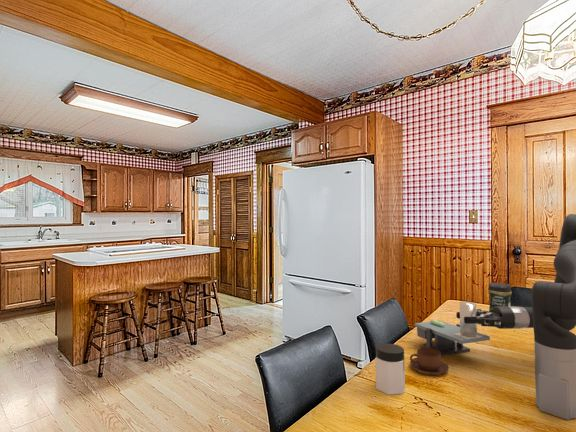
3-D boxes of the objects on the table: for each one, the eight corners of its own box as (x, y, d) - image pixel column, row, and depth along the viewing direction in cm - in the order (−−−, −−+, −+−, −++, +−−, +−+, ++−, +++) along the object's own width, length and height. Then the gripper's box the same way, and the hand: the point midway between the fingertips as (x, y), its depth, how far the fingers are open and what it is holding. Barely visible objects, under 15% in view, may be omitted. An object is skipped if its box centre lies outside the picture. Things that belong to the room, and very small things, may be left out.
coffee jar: (486, 320, 167) (485, 282, 167) (492, 317, 172) (491, 280, 173) (509, 325, 160) (508, 285, 160) (514, 321, 165) (513, 283, 166)
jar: (399, 380, 107) (398, 342, 107) (411, 393, 99) (410, 352, 99) (371, 382, 106) (370, 343, 106) (381, 395, 98) (380, 354, 98)
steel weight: (473, 338, 116) (472, 306, 116) (457, 334, 120) (457, 303, 120) (479, 334, 120) (478, 303, 120) (463, 331, 124) (463, 300, 124)
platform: (415, 336, 139) (414, 319, 139) (439, 333, 142) (438, 316, 142) (462, 356, 115) (461, 335, 115) (490, 351, 118) (489, 331, 118)
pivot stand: (420, 349, 132) (419, 325, 133) (454, 344, 137) (453, 321, 137) (434, 356, 125) (434, 332, 125) (470, 351, 129) (469, 327, 129)
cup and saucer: (425, 380, 107) (425, 360, 107) (403, 365, 119) (402, 347, 119) (457, 375, 110) (456, 356, 110) (432, 360, 122) (431, 343, 122)
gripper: (498, 301, 126) (451, 302, 127) (522, 312, 112) (470, 312, 113) (498, 321, 126) (451, 322, 127) (523, 335, 112) (470, 335, 113)
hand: (460, 317), depth 120 cm, fingers closed on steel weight, 5 cm apart
